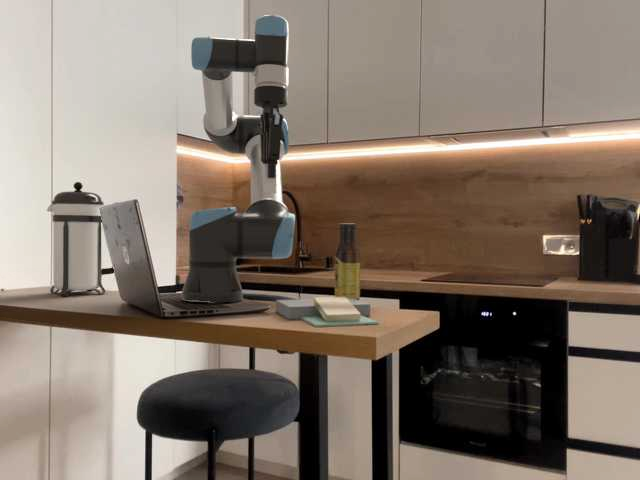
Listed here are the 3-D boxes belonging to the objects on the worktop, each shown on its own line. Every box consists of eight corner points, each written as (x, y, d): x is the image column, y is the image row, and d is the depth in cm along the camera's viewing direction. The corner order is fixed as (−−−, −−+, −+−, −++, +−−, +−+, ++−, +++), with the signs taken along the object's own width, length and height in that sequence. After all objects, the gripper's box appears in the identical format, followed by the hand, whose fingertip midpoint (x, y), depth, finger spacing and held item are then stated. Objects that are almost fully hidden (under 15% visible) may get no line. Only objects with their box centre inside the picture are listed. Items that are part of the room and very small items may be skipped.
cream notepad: (313, 304, 122) (313, 297, 122) (344, 303, 125) (345, 296, 124) (326, 322, 114) (327, 315, 114) (359, 320, 116) (360, 313, 116)
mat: (300, 318, 120) (300, 316, 120) (359, 316, 125) (359, 314, 125) (315, 326, 111) (315, 324, 111) (378, 324, 115) (378, 322, 115)
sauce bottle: (338, 301, 148) (339, 223, 148) (362, 302, 146) (363, 223, 146) (331, 304, 142) (332, 223, 141) (356, 306, 140) (357, 223, 139)
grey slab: (276, 311, 130) (276, 300, 130) (351, 308, 136) (351, 297, 136) (289, 319, 120) (289, 306, 120) (370, 315, 125) (370, 304, 125)
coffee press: (91, 298, 148) (91, 179, 148) (34, 296, 151) (34, 179, 151) (125, 290, 166) (126, 184, 165) (74, 288, 168) (74, 184, 168)
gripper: (248, 92, 136) (247, 194, 137) (260, 79, 124) (259, 191, 125) (280, 95, 139) (278, 194, 139) (295, 83, 126) (293, 192, 127)
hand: (269, 193), depth 132 cm, fingers closed
